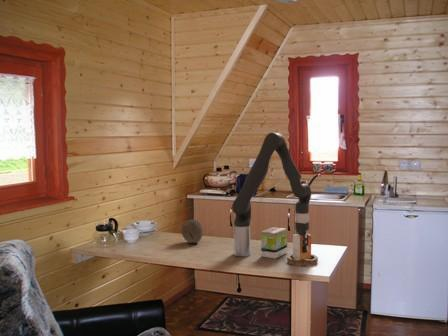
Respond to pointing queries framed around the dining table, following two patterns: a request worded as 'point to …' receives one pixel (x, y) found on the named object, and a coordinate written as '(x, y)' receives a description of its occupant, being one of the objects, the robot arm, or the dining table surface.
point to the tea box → (273, 242)
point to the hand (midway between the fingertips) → (302, 250)
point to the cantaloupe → (192, 231)
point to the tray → (302, 261)
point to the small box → (298, 247)
